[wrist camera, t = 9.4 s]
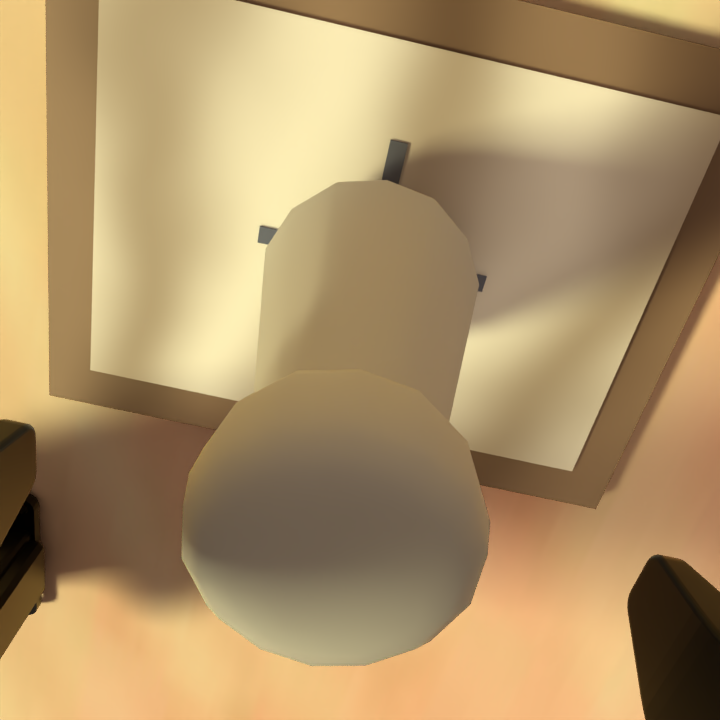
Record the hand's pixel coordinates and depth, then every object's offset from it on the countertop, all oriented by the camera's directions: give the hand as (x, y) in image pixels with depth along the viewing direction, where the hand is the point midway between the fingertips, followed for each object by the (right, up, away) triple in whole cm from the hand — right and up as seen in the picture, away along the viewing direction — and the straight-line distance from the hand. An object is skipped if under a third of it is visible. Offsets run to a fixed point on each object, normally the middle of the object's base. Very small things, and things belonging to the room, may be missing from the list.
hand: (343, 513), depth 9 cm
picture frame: (+1, +6, +11) cm, 13 cm away
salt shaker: (+1, +5, +11) cm, 12 cm away
